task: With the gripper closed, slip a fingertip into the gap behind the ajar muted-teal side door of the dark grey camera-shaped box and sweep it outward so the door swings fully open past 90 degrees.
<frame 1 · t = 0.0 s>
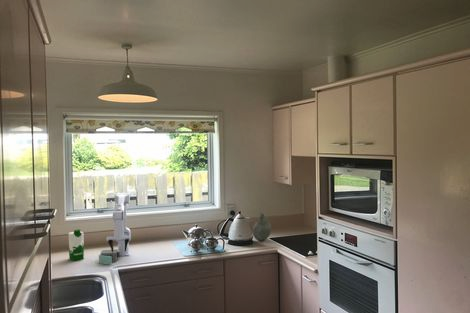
hand: (119, 251, 237), 10 cm above the counter, fingers open, 7 cm apart
milk carton: (76, 259, 254), on the counter
camera body: (109, 260, 251), on the counter
side door: (105, 259, 243), point 3 cm above the counter, hinge at 30.0°
flask: (262, 240, 301), on the counter
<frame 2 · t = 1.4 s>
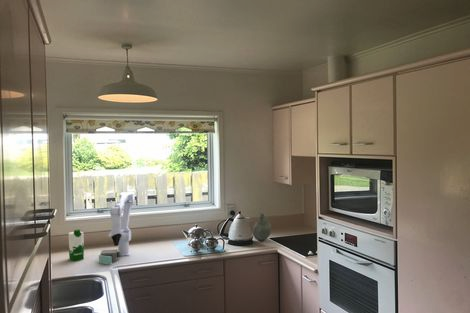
hand: (116, 245, 249), 10 cm above the counter, fingers closed
nothing on the counter moved.
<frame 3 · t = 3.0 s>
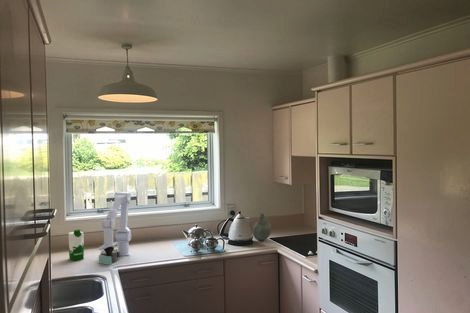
hand: (108, 258, 244), 3 cm above the counter, fingers closed, pressing on side door
side door: (104, 259, 243), point 3 cm above the counter, hinge at 30.9°, touching gripper
everything else where it was.
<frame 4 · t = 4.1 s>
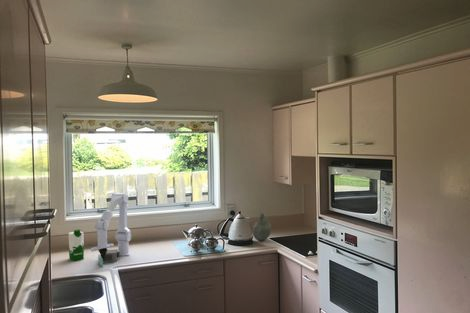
hand: (102, 260, 241), 3 cm above the counter, fingers closed, pressing on side door
side door: (100, 260, 242), point 3 cm above the counter, hinge at 69.9°, touching gripper
everything else where it was.
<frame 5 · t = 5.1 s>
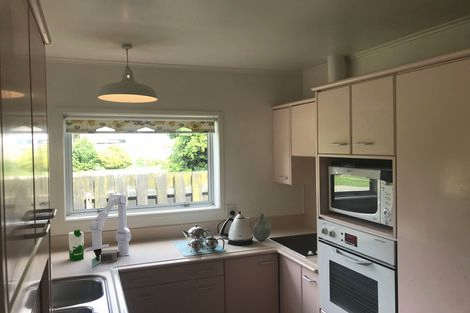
hand: (97, 260, 240), 3 cm above the counter, fingers closed, pressing on side door
side door: (96, 260, 241), point 3 cm above the counter, hinge at 107.9°, touching gripper
everything else where it was.
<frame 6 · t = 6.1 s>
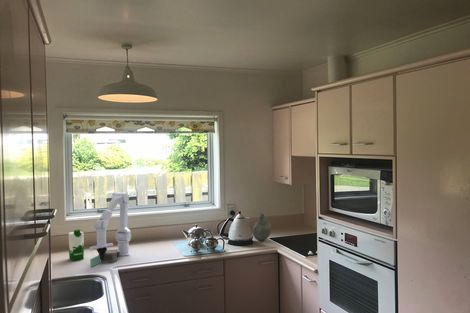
hand: (101, 259, 242), 3 cm above the counter, fingers closed
side door: (95, 260, 242), point 3 cm above the counter, hinge at 115.0°
everything else where it was.
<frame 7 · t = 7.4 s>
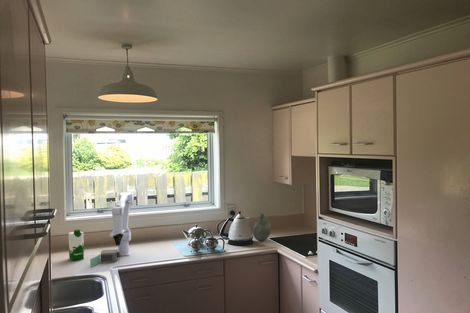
hand: (117, 245, 249), 10 cm above the counter, fingers closed
nothing on the counter moved.
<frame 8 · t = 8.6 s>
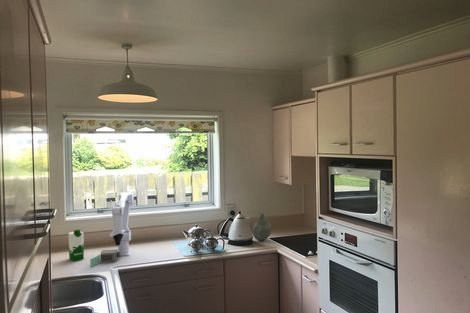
hand: (117, 245, 249), 10 cm above the counter, fingers closed
nothing on the counter moved.
at the end: side door at +115° (first picture: +30°); side door touching nothing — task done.
